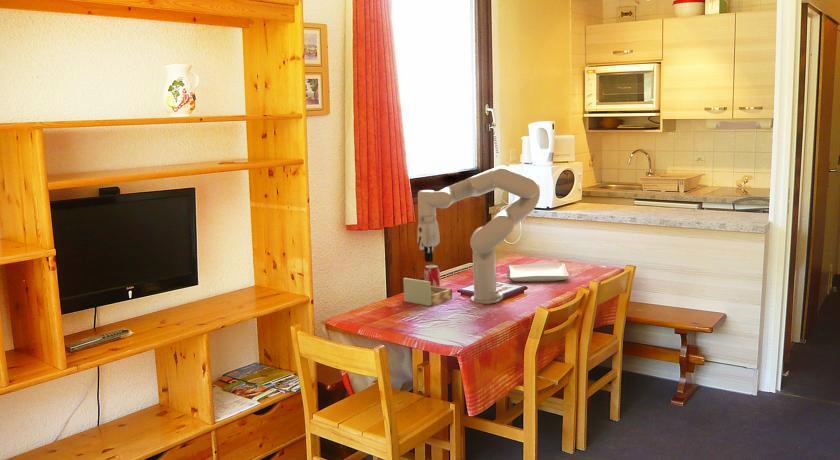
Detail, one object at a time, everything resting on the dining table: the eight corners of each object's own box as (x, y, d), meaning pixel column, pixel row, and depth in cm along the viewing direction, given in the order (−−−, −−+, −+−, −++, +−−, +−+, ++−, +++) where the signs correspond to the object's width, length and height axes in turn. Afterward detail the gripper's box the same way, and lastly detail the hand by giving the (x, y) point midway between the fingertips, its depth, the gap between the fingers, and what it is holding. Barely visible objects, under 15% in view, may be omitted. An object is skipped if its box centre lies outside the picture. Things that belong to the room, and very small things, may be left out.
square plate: (564, 270, 380) (564, 262, 379) (569, 283, 353) (569, 274, 352) (509, 271, 383) (508, 263, 382) (510, 284, 356) (509, 276, 355)
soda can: (439, 294, 343) (437, 267, 341) (423, 294, 344) (422, 267, 342) (441, 290, 350) (440, 264, 348) (426, 290, 351) (425, 264, 349)
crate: (425, 295, 341) (424, 284, 340) (452, 300, 331) (451, 289, 330) (406, 302, 331) (405, 291, 330) (433, 307, 322) (432, 295, 321)
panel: (406, 302, 331) (405, 277, 329) (431, 306, 322) (430, 281, 320) (404, 303, 330) (403, 278, 328) (429, 307, 321) (428, 282, 319)
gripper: (422, 222, 318) (424, 265, 322) (445, 217, 330) (446, 259, 333) (409, 221, 323) (410, 263, 326) (431, 216, 334) (433, 257, 338)
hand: (428, 261), depth 330 cm, fingers closed
